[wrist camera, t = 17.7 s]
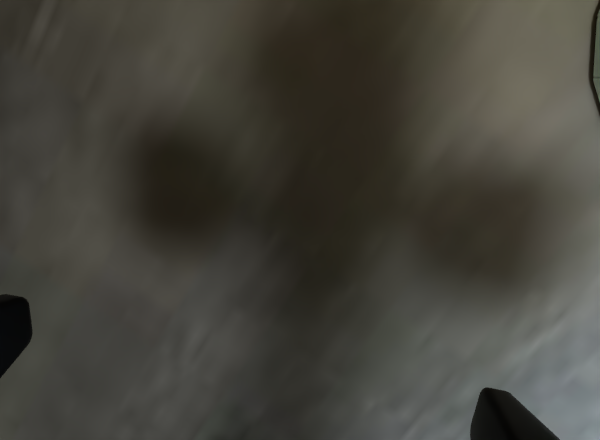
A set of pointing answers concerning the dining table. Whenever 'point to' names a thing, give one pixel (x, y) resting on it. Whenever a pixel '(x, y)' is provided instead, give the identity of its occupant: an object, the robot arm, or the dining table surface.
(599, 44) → the bowl
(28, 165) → the dining table surface
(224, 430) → the dining table surface
